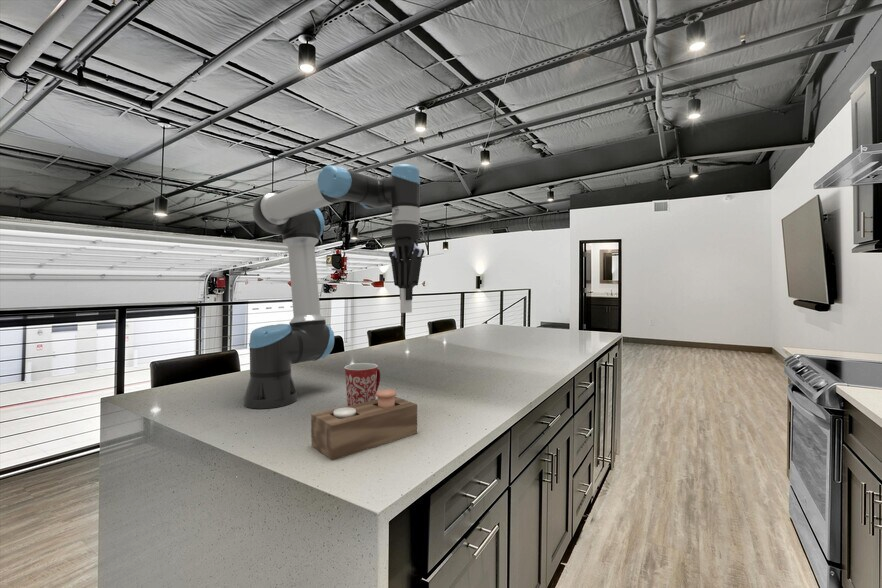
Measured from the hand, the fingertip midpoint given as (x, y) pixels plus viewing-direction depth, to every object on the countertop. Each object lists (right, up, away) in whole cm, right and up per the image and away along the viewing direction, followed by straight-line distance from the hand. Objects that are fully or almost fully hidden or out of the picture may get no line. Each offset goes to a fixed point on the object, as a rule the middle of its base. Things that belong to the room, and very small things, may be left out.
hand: (406, 312), depth 105 cm
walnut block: (-8, -29, -15) cm, 33 cm away
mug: (-12, -29, +5) cm, 31 cm away
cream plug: (-12, -28, -18) cm, 35 cm away
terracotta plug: (-4, -25, -11) cm, 28 cm away
